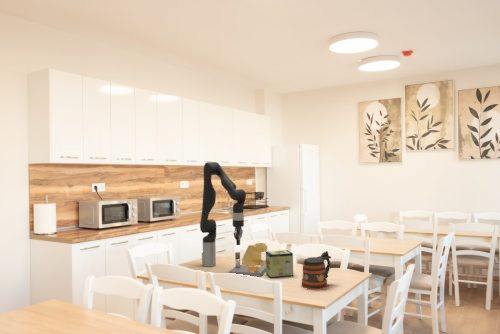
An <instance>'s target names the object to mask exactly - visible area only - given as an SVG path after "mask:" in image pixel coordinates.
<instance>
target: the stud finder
mask: <svg viewBox="0 0 500 334" xmlns="http://www.w3.org/2000/svg"><path fill="white" fill-rule="evenodd" d="M258 270H259V266H255V265H249V266H248V271H250V272H257V271H258Z"/></svg>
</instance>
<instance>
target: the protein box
mask: <svg viewBox="0 0 500 334" xmlns="http://www.w3.org/2000/svg"><path fill="white" fill-rule="evenodd" d="M265 261H266V272H265V275H266V276H267V277H268V278H270V279H279V278H290V277H291V276H292V277H294V253H293V252H292V251H290V250H289V249H285V250H271V251H269V250H267V251H266V252H265Z"/></svg>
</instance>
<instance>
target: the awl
mask: <svg viewBox="0 0 500 334" xmlns="http://www.w3.org/2000/svg"><path fill="white" fill-rule="evenodd" d="M234 254H235V255H234V257H235V261H234V262H235V266H234V267H235V268H240V265H241V252H239V251H238V252H235V253H234Z"/></svg>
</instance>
